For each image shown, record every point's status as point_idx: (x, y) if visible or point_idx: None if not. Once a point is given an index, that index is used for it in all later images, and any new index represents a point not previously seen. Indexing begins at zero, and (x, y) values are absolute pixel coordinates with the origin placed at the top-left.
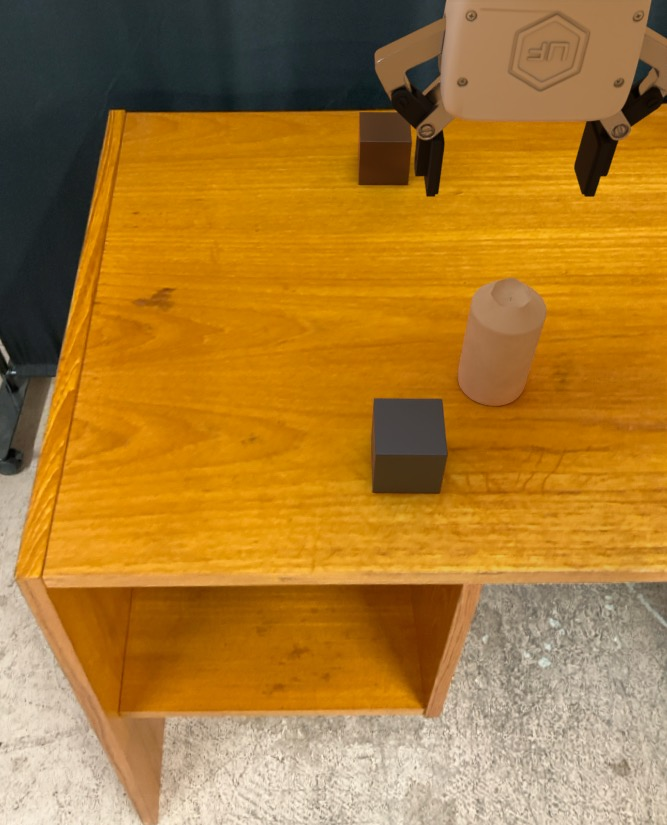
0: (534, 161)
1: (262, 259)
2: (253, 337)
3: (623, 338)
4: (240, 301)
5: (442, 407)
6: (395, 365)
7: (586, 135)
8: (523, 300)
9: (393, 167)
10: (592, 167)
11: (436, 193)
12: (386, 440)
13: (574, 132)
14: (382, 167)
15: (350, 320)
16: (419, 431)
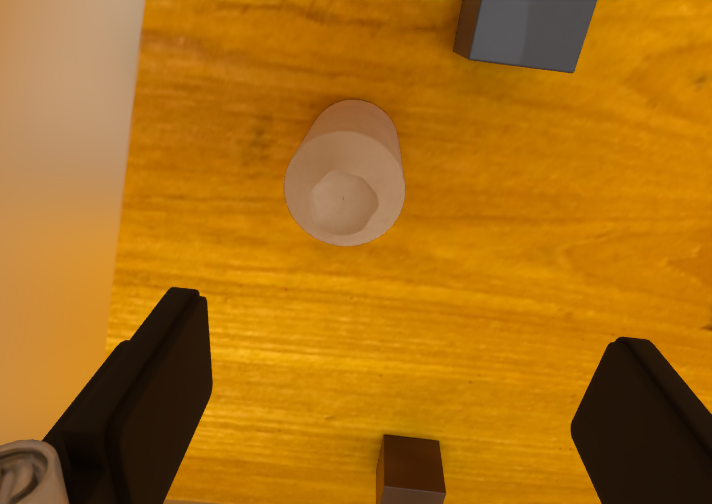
0: (235, 447)
1: (582, 357)
2: (635, 247)
3: (170, 193)
4: (630, 302)
5: (473, 40)
6: (470, 183)
7: (162, 473)
8: (321, 194)
9: (402, 456)
10: (160, 356)
11: (621, 343)
12: None
13: (185, 476)
14: (415, 458)
15: (506, 259)
16: None
